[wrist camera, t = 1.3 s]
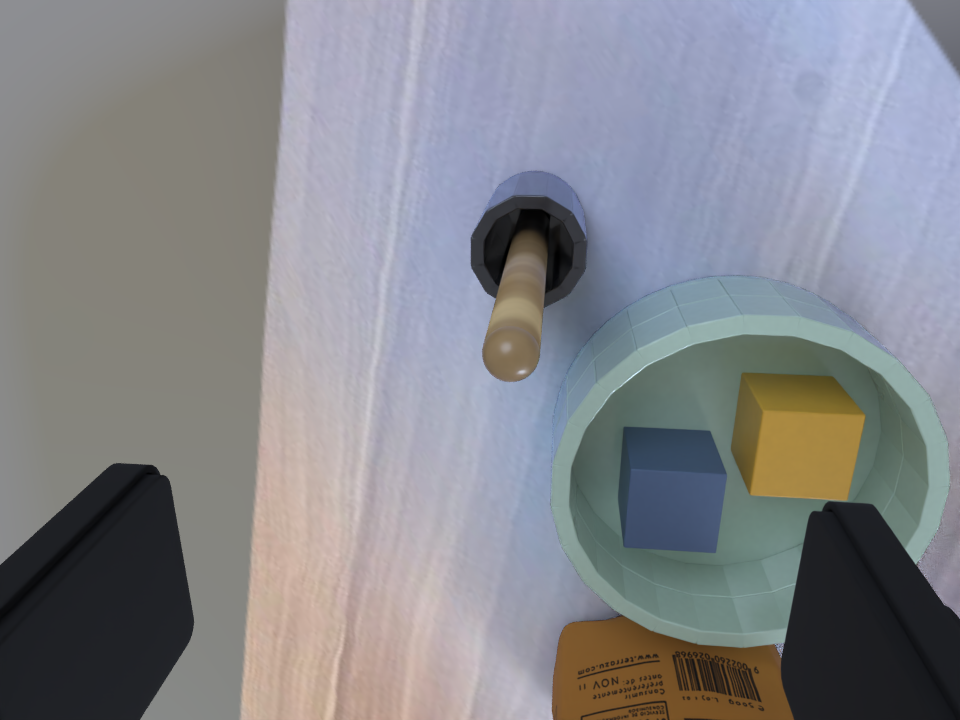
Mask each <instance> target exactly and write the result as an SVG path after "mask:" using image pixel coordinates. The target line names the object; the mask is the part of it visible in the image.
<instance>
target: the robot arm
mask: <svg viewBox="0 0 960 720" xmlns="http://www.w3.org/2000/svg"><path fill="white" fill-rule="evenodd" d="M193 626H194V617H193V611H192V605H191V599H190V593H189V588H188V582H187V577H186V571H185V565H184V559H183V553H182V548H181V542H180V536H179V531H178V525H177V519H176V513H175V508H174V502H173V496H172V490H171V485H170V481H169V479H168V478H167V477H166V476H164V475H160V473H159V471H158V469H157V468H156V467H154V466H153V465H141V464H140V465H139V464H121V463H116V464H113V465H111V466H109V467H108V468H107V469H106V470H105V471H104V472H103V473H102V474H100V475H99V476H98V477H97V478H96V479H95V480H94V481H93V482H91V484H89V485H88V486H87V487H86V488H85V489H84V490H83V491H82V492H80V493H79V494H78V495H77V496H76V497H75V498H74V499H73V500H72V501H70V502H69V503H68V504H67V505H66V506H65V507H64V508H63V509H62V510H61V511H59V512H58V513H57V514H56V515H55V516H54V517H53V518H52V519H51V520H50V521H48V522H47V523H46V524H45V525H44V526H43V527H42V528H41V529H40V530H39V531H37V532H36V533H35V534H34V535H33V536H32V537H31V538H30V539H29V540H28V541H26V542H25V543H24V544H23V545H22V546H21V547H20V548H19V549H18V550H16V551H15V552H14V553H13V554H12V555H11V556H10V557H9V558H8V559H6V560H5V561H4V562H3V563H2V564H1V565H0V720H140V719H141V717H142V715H143V714H144V712H145V710H146V709H147V708H148V706H149V704H150V703H151V701H152V700H153V698H154V696H155V695H156V694H157V692H158V690H159V689H160V687H161V686H162V684H163V682H164V681H165V679H166V678H167V676H168V675H169V673H170V672H171V670H172V668H173V667H174V665H175V664H176V662H177V661H178V659H179V657H180V656H181V654H182V653H183V651H184V650H185V648H186V646H187V644H188V643H189V641H190V638H191V636H192V632H193ZM781 680H782V685H783V689H784V692H785V695H786V698H787V701H788V703H789V706H790V709H791V712H792V715H793V718H794V720H960V619H959V617H958V616H957V615H956V614H955V613H954V612H953V611H952V610H951V609H950V608H949V607H947V606H945V605H944V604H943V603H942V601H941V600H940V599H939V597H938V596H937V594H936V593H935V591H934V590H933V589H932V587H931V586H930V584H929V583H928V581H927V580H926V578H925V577H924V576H923V574H922V573H921V571H920V570H919V568H918V567H917V566H916V564H915V563H914V561H913V560H912V558H911V557H910V556H909V554H908V553H907V551H906V550H905V548H904V547H903V545H902V544H901V543H900V541H899V540H898V538H897V537H896V535H895V534H894V533H893V531H892V530H891V528H890V527H889V525H888V524H887V523H886V521H885V520H884V518H883V517H882V515H881V514H880V513H879V511H878V510H877V508H876V507H875V506H874V505H873V504H869V503H852V502H833V501H828V502H827V503H825V505H824V507H823V509H822V511H813V512H811V514H810V515H809V519H808V523H807V528H806V533H805V538H804V543H803V549H802V554H801V559H800V564H799V570H798V575H797V580H796V585H795V590H794V596H793V601H792V606H791V611H790V617H789V622H788V627H787V632H786V637H785V643H784V648H783V653H782V658H781Z"/></svg>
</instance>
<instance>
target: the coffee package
mask: <svg viewBox="0 0 960 720" xmlns="http://www.w3.org/2000/svg"><path fill="white" fill-rule="evenodd" d="M552 714H553V720H794V718H793V715H792V712H791V709H790V706H789V703H788V701H787V698H786V695H785V692H784V689H783V685H782V680H781V657H780V655H779V653H778V651H777V649H776V647H775V645H774V644H771V645H763V646H755V647H747V648H744V647H743V648H738V647H724V646H711V645H698V644H697V643H696V644H694V643H691V642H687V641H684V640H680V639H677V638H673V637H670V636H666V635H663V634H659V633H656V632H654V631H650V630H648V629H647V628H645V627H643V626H641V625H639V624H638V623H636V622H634V621H632V620H630V619H628V618H627V617H625V616H623V615H622V616H619V617H615V618H612V619H608V620H599V621H581V622H572V623H569V624H568V625H566V626H565V627H564V629H563V630H562V632H561V635H560V638H559V643H558V649H557V656H556V663H555V668H554V675H553V695H552Z"/></svg>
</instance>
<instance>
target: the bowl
mask: <svg viewBox="0 0 960 720" xmlns="http://www.w3.org/2000/svg"><path fill="white" fill-rule="evenodd" d="M742 373H766V374H791V375H815V376H833V377H834V378H835V379H836V380H837V381H838V383H839V384H840V385H841V386H842V387H843V389H844V390H845V391H846V392H847V393H848V395H849V396H850V397H851V398H852V399H853V401H854V402H855V403H856V404H857V405H858V407H859V408H860V409H861V410H862V411H863V413H864V414H865V415H866V418H865V423H864V427H863V432H862V436H861V441H860V446H859V450H858V455H857V459H856V464H855V469H854V473H853V478H852V482H851V487H850V492H849V496H848V500H847V501H840V500H822V499H804V498H786V497H768V496H751V495H749V492H748V490H747V487H746V485H745V483H744V480H743V478H742V475H741V473H740V471H739V468H738V466H737V464H736V461H735V459H734V456H733V454H732V452H731V443H732V436H733V429H734V423H735V416H736V409H737V402H738V395H739V388H740V381H741V374H742ZM624 427H646V428H666V429H687V430H708V431H711V434H712V436H713V439H714V442H715V444H716V447H717V449H718V452H719V455H720V457H721V460H722V462H723V465H724V467H725V470H726V473H727V481H726V488H725V495H724V501H723V508H722V515H721V522H720V529H719V536H718V543H717V550H716V553H703V552H687V551H671V550H655V549H639V548H625V547H624V546H623V538H622V530H621V521H620V513H619V505H618V489H619V477H620V465H621V453H622V441H623V429H624ZM949 485H950V474H949V454H948V441H947V437H946V435H945V432H944V430H943V427H942V425H941V422H940V420H939V417H938V415H937V412H936V410H935V407H934V405H933V403H932V400H931V398H930V396H929V395H928V393H927V392H926V391H925V390H924V389H923V388H922V386H921V385H920V384H919V383H918V382H917V381H916V379H915V378H914V377H913V376H912V375H911V374H910V373H909V371H908V370H907V369H906V368H905V367H904V366H903V364H902V363H901V362H900V361H899V360H898V359H897V358H896V357H895V356H894V355H893V354H892V353H890V352H889V351H888V350H887V349H886V348H885V347H884V346H883V345H882V344H881V343H880V342H878V341H877V340H876V339H875V338H874V337H873V336H872V335H871V334H870V333H869V332H868V331H866V330H865V329H864V328H863V327H862V326H861V325H860V324H859V323H858V322H857V321H856V320H855V319H853V318H852V317H851V316H849V315H848V314H846V313H844V312H843V311H841V310H840V309H839V308H837V307H836V306H835V305H833V304H832V303H830V302H829V301H827V300H825V299H824V298H822V297H820V296H818V295H816V294H814V293H812V292H810V291H808V290H806V289H803V288H800V287H797V286H795V285H792V284H789V283H786V282H781V281H777V280H772V279H768V278H763V277H752V276H741V275H737V276H714V277H707V278H701V279H694V280H690V281H686V282H683V283H679V284H675V285H672V286H668V287H666V288H664V289H661V290H659V291H656V292H654V293H652V294H649V295H647V296H645V297H643V298H642V299H640V300H638V301H636V302H634V303H633V304H631V305H629V306H627V307H626V308H625V309H623V310H622V311H620V312H619V313H618V314H616V315H615V316H614V317H612V318H611V319H610V320H608V321H607V322H606V323H605V324H604V325H603V326H602V327H601V328H600V329H599V330H598V331H597V332H596V333H595V334H594V335H593V336H592V337H591V338H590V339H589V341H588V342H587V343H586V344H585V346H584V347H583V348H582V349H581V351H580V352H579V353H578V355H577V356H576V358H575V360H574V361H573V363H572V365H571V366H570V368H569V370H568V372H567V374H566V376H565V379H564V381H563V383H562V386H561V388H560V391H559V395H558V399H557V403H556V406H555V410H554V415H553V437H552V464H551V499H550V505H551V511H552V514H553V518H554V522H555V526H556V529H557V533H558V537H559V541H560V544H561V546H562V549H563V550H564V552H565V554H566V555H567V557H568V558H569V560H570V562H571V563H572V565H573V566H574V568H575V570H576V571H577V573H578V575H579V576H580V578H581V579H582V581H583V582H584V583H585V584H586V585H587V586H588V587H589V588H590V589H591V590H592V591H593V592H594V593H595V594H597V595H598V596H599V597H600V598H601V599H602V600H603V601H604V602H605V603H606V604H607V605H608V606H610V607H611V608H612V609H613V610H615V611H616V612H618V613H619V614H621V615H623V616H625V617H627V618H628V619H630V620H632V621H634V622H636V623H638V624H639V625H641V626H643V627H645V628H647V629H648V630H650V631H654V632H656V633H659V634H663V635H666V636H670V637H673V638H677V639H680V640H684V641H687V642H691V643H694V644H696V643H697V644H698V645H711V646H724V647H738V648H743V647H744V648H747V647H755V646H763V645H771V644H779V643H785V637H786V632H787V627H788V622H789V617H790V611H791V606H792V601H793V596H794V590H795V585H796V580H797V575H798V570H799V564H800V559H801V554H802V549H803V543H804V538H805V533H806V528H807V523H808V519H809V515H810V514H811V512H813V511H822V509H823V507H824V505H825V503H827V502H828V501H833V502H852V503H869V504H873V505H874V506H875V507H876V508H877V510H878V511H879V513H880V514H881V515H882V517H883V518H884V520H885V521H886V523H887V524H888V525H889V527H890V528H891V530H892V531H893V533H894V534H895V535H896V537H897V538H898V540H899V541H900V543H901V544H902V545H903V547H904V548H905V550H906V551H907V553H908V554H909V556H910V557H911V558H912V560H913V561H914V563H915V564H916V565H917V563H918V561H919V560H920V558H921V557H922V555H923V553H924V552H925V550H926V548H927V547H928V545H929V544H930V542H931V540H932V539H933V537H934V536H935V534H936V532H937V531H938V528H939V525H940V521H941V517H942V514H943V510H944V507H945V503H946V499H947V496H948V492H949V488H950V486H949Z"/></svg>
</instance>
